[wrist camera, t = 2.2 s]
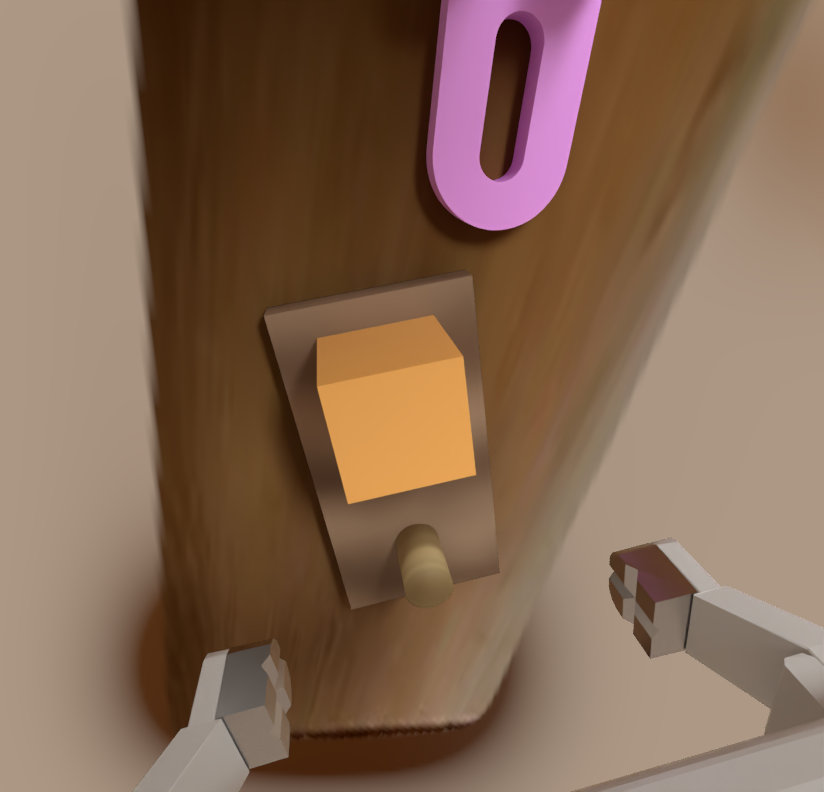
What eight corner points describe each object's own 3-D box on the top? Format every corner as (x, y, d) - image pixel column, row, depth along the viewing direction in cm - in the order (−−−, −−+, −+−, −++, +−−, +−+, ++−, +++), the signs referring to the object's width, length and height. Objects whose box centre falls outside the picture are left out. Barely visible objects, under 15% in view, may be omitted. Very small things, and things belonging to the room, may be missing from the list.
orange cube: (316, 338, 21) (316, 386, 17) (433, 315, 22) (463, 356, 17) (342, 438, 24) (348, 504, 19) (447, 416, 24) (476, 474, 20)
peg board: (266, 308, 22) (254, 345, 18) (464, 269, 22) (498, 296, 18) (350, 593, 30) (355, 664, 26) (493, 558, 31) (521, 622, 27)
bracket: (461, -207, 16) (553, -437, 10) (617, -166, 17) (790, -348, 11) (418, 220, 21) (460, 247, 15) (539, 230, 22) (623, 260, 16)
